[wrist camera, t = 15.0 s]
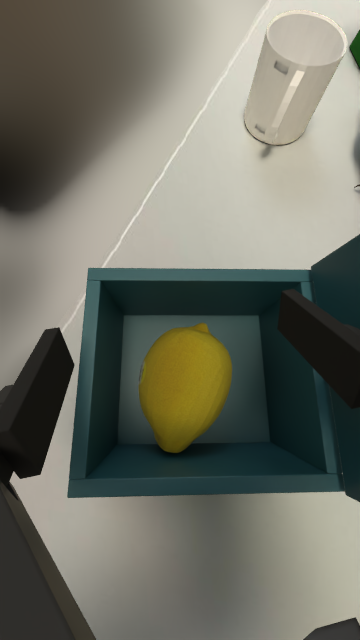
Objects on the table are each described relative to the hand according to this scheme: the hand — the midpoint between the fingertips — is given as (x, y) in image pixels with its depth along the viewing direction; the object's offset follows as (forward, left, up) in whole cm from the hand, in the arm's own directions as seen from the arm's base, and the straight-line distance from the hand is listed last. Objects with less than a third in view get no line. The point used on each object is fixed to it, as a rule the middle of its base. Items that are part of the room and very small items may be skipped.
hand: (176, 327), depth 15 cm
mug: (+14, +33, -13) cm, 38 cm away
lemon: (+1, -2, -12) cm, 12 cm away
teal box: (+2, -2, -13) cm, 14 cm away
